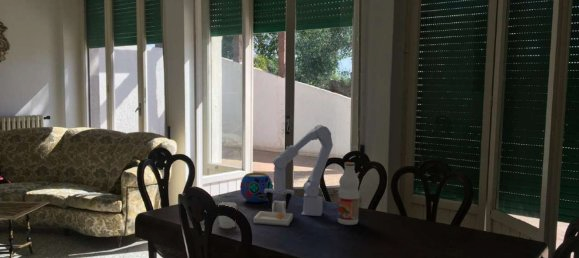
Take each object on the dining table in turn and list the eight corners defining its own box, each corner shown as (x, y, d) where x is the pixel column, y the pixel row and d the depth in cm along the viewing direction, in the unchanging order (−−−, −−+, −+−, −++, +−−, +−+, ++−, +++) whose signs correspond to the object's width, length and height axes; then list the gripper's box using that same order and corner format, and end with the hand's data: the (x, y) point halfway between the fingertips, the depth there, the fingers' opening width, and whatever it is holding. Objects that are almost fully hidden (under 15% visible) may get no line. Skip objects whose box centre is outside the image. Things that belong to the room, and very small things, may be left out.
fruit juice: (360, 225, 213) (363, 164, 210) (341, 225, 211) (343, 164, 209) (354, 219, 222) (356, 161, 220) (335, 219, 220) (337, 161, 218)
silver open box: (285, 213, 230) (285, 201, 230) (283, 216, 225) (283, 203, 224) (274, 212, 231) (274, 200, 231) (272, 215, 226) (272, 203, 225)
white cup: (237, 224, 209) (238, 202, 209) (234, 229, 202) (234, 206, 201) (220, 223, 210) (221, 201, 209) (216, 228, 202) (216, 205, 202)
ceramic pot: (248, 207, 241) (248, 178, 240) (235, 199, 256) (235, 172, 255) (278, 203, 249) (278, 176, 248) (263, 196, 265) (264, 170, 264)
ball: (283, 211, 217) (280, 214, 215) (284, 217, 218) (281, 220, 216) (277, 211, 219) (274, 214, 216) (279, 216, 220) (276, 220, 217)
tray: (292, 218, 220) (292, 213, 220) (288, 225, 209) (288, 220, 208) (259, 216, 223) (259, 211, 223) (253, 223, 211) (253, 217, 211)
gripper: (263, 181, 224) (262, 209, 225) (292, 183, 222) (292, 211, 223) (266, 178, 231) (265, 205, 232) (295, 180, 229) (294, 207, 230)
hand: (278, 208), depth 228 cm, fingers open, 7 cm apart
